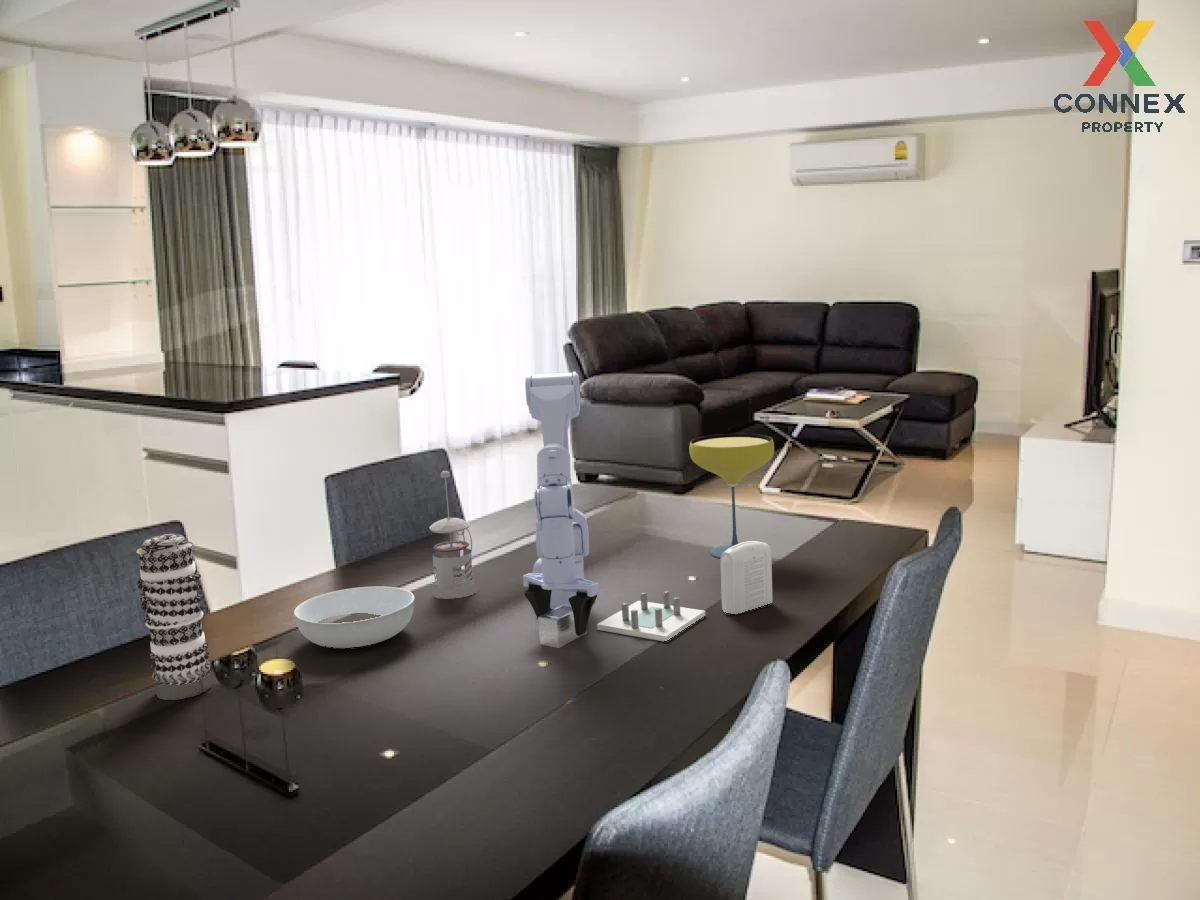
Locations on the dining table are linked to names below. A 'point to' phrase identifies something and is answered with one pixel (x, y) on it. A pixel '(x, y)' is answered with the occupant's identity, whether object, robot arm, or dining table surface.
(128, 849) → the dining table surface
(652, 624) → the dock
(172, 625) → the decorative candle
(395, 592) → the serving bowl
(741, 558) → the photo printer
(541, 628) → the block
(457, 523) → the french press
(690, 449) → the cocktail glass
